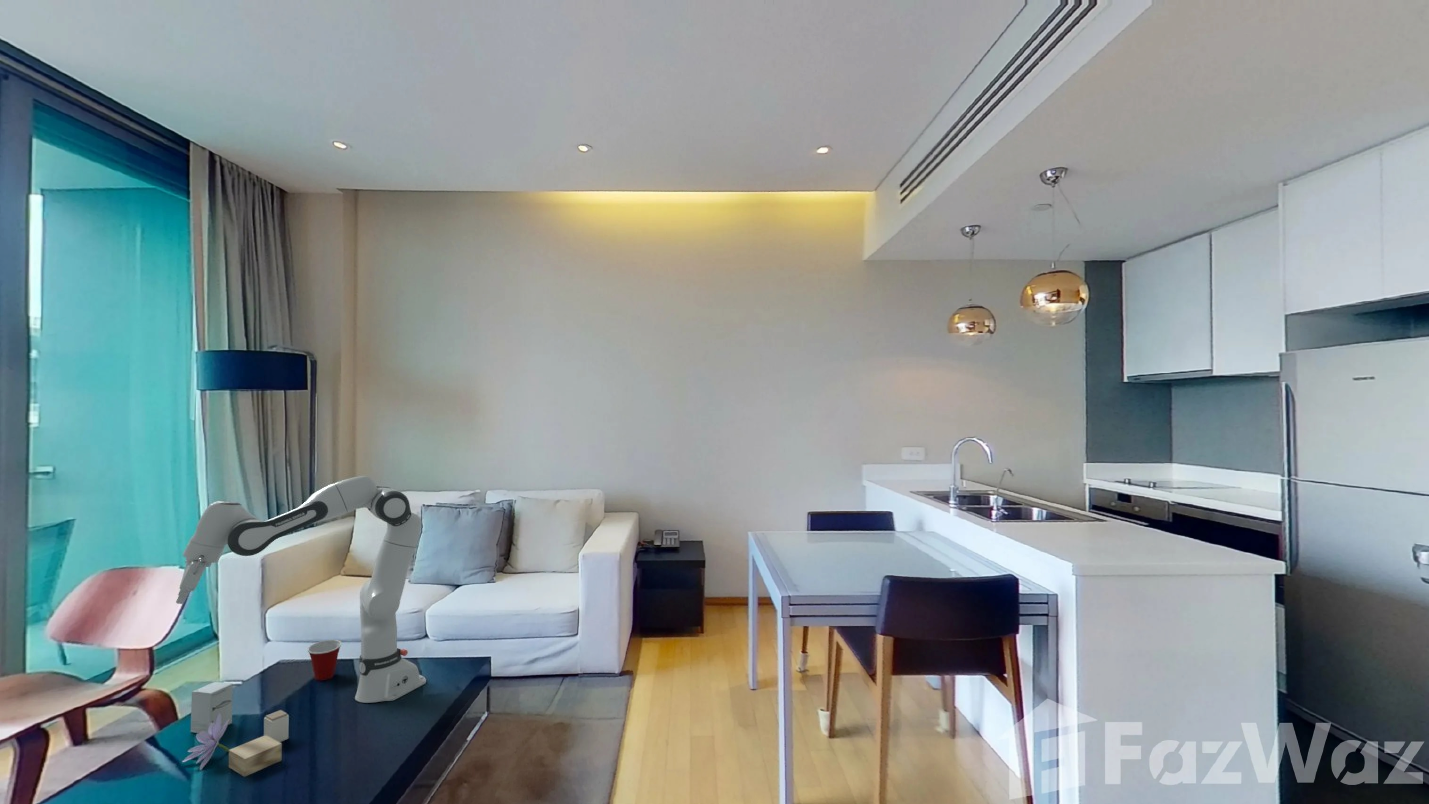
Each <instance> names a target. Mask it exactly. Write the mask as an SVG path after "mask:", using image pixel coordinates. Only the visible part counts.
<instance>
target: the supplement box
mask: <svg viewBox="0 0 1429 804" xmlns="http://www.w3.org/2000/svg"><path fill="white" fill-rule="evenodd" d="M233 685H234V684H233V683H232V682H220V681H214V682H211V683H209V684H206V685H204V686H202V687H200V688H197V689H195V690H193V691H191V702H190V704H191V707H190V708H191V709H190V710H191V711H190V733H196V734H198V733H200V732H201V731H207V732H208V728H209V726H210V724H211V723H214V724H215V723H216V719H217V717H218V715H219V714H220V715H221V727H222V728H223V726H224V724H225V722H226V721H227V720H228V719H229V722H228V725H231V724H233V692H234V691H233V689H234V686H233ZM228 725H227V726H228Z"/></svg>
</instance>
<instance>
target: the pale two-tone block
mask: <svg viewBox="0 0 1429 804" xmlns="http://www.w3.org/2000/svg"><path fill="white" fill-rule="evenodd" d="M289 718H290V716H289V714H288V713H287V712H285V711H284V710H282V709H279V710H277V711H274V712H272V713H270V714H266V715H265V716H264V717H263V736H264V735H267V736H269V737H271V738H272V739H274V740H276V741H278V742H280V743H282V742H284V741H285V740H288V739H289V727H290V726H289V720H290V719H289Z"/></svg>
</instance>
